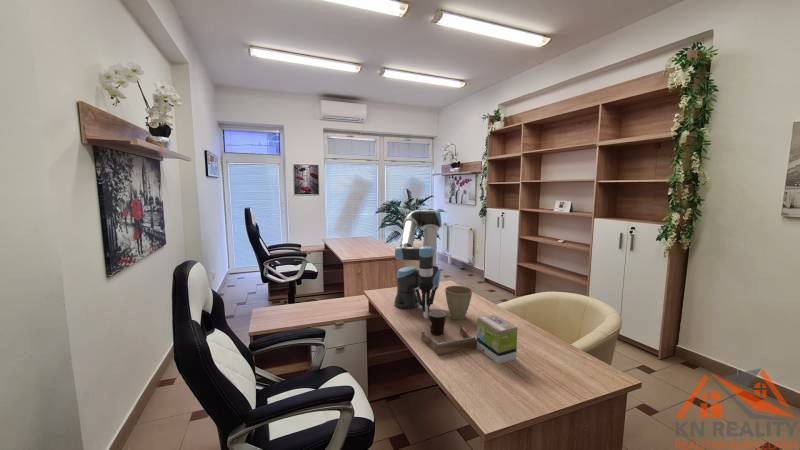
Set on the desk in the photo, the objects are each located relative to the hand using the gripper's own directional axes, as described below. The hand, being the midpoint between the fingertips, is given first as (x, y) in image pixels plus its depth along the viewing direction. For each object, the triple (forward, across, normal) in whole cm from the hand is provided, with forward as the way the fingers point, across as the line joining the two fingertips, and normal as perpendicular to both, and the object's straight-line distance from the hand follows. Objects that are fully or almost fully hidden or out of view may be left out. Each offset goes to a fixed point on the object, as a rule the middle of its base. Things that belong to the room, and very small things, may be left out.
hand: (425, 317), depth 174 cm
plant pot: (+2, +19, -2) cm, 19 cm away
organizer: (+2, 0, -28) cm, 28 cm away
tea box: (+2, +15, -43) cm, 45 cm away
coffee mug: (+2, 0, -15) cm, 15 cm away
